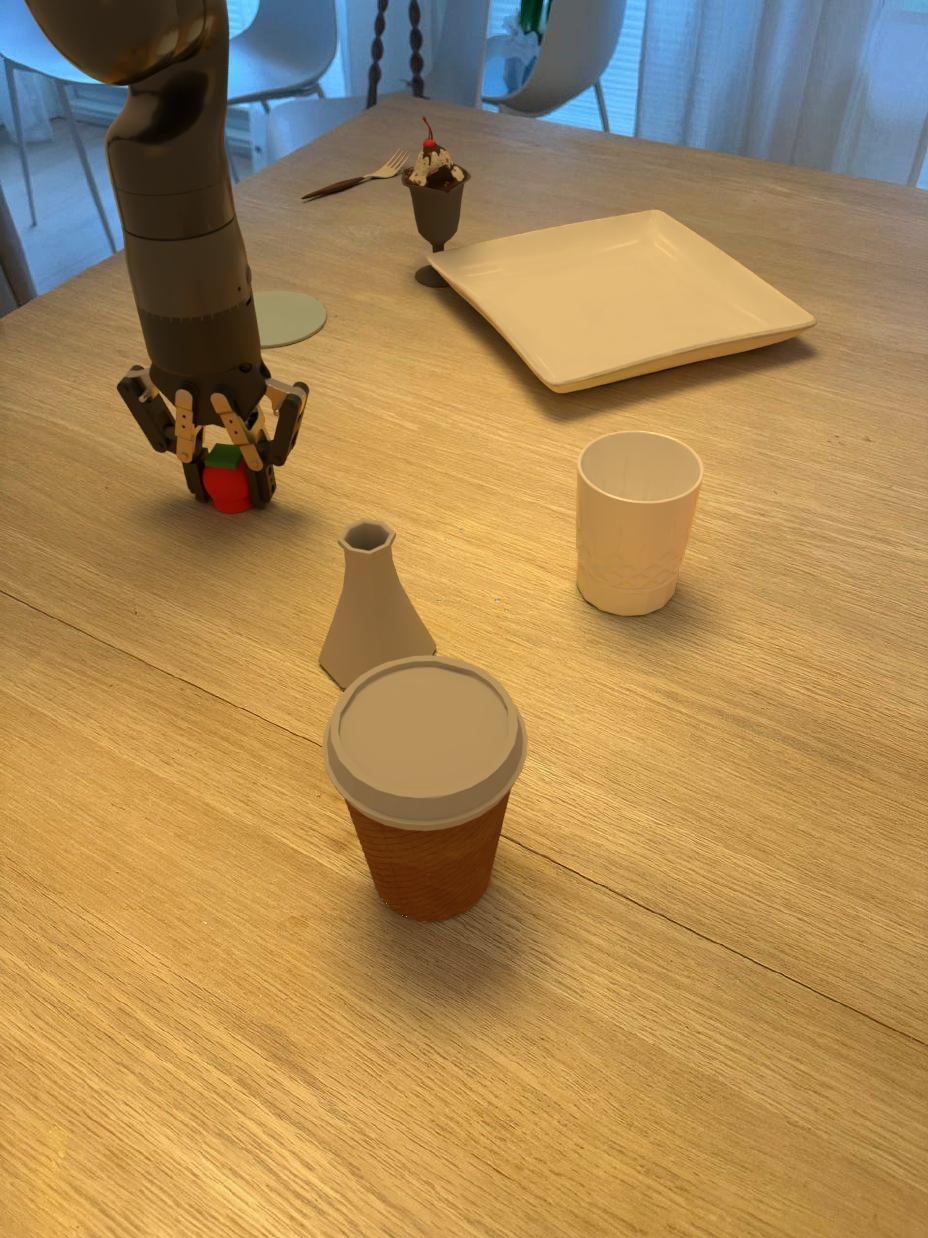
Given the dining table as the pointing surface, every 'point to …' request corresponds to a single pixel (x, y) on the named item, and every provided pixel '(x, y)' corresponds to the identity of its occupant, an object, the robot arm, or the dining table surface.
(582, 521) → the white cup
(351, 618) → the flask
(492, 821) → the disposable coffee cup
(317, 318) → the saucer
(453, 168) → the sundae
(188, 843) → the dining table surface
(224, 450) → the strawberry
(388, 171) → the fork
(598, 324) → the square plate
